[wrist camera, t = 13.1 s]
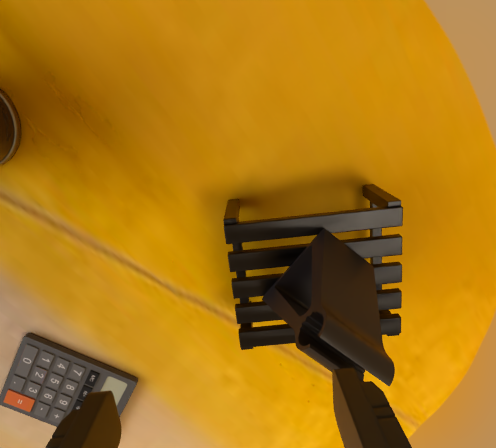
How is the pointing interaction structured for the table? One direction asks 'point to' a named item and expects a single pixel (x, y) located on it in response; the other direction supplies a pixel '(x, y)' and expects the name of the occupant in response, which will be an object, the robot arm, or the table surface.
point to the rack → (374, 247)
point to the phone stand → (333, 308)
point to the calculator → (58, 381)
